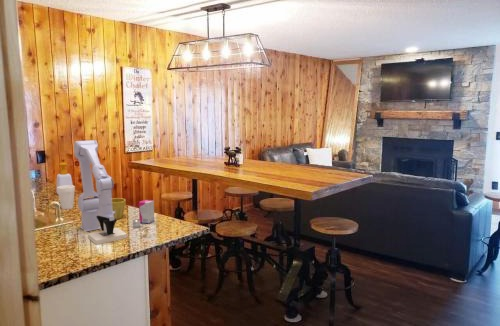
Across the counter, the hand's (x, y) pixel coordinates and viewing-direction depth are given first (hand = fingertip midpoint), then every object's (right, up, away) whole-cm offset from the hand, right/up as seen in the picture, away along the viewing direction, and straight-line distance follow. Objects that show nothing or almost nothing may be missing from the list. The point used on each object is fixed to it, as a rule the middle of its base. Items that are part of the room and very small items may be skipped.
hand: (107, 232), depth 178 cm
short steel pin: (+9, 0, +17) cm, 19 cm away
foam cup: (-43, +5, +52) cm, 68 cm away
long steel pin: (0, -3, +1) cm, 3 cm away
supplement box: (+12, +1, +25) cm, 27 cm away
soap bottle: (-63, +11, +90) cm, 111 cm away
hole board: (0, -3, 0) cm, 3 cm away
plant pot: (-7, +2, +33) cm, 34 cm away
